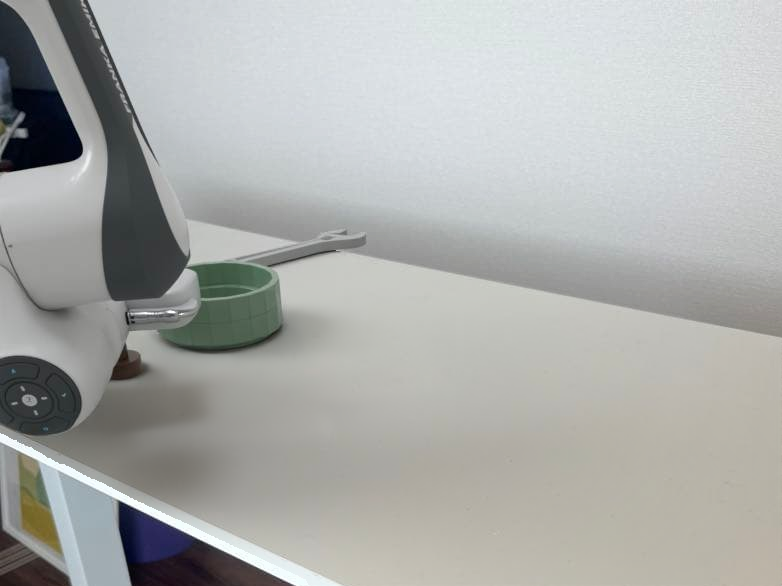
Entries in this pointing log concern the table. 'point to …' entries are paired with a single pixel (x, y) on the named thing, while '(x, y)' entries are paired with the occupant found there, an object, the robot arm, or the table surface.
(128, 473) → the table surface
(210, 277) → the bowl
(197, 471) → the table surface
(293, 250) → the adjustable wrench
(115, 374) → the muddler
